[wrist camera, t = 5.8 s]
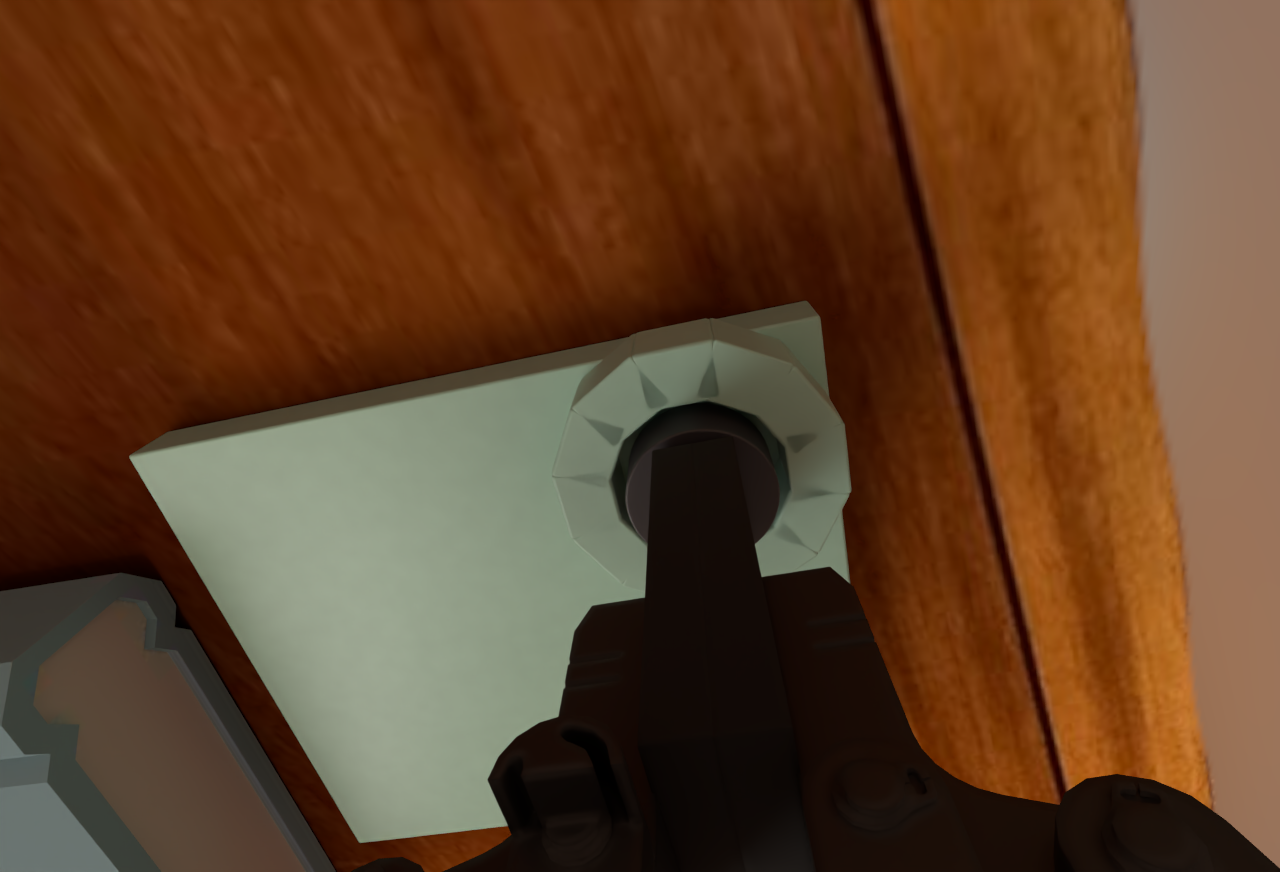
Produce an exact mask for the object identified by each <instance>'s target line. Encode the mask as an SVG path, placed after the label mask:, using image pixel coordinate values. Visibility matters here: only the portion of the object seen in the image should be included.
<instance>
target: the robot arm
mask: <svg viewBox="0 0 1280 872" xmlns="http://www.w3.org/2000/svg"><path fill="white" fill-rule="evenodd" d="M569 661H570V664H569V665H568V667H567V673H566V678H565V688H564V689H563V694H562V699H561V705H560V710H559V716H558V717H556V718H553V719H549V720H546V721H543V722H539V723H538V724H536V725H535V726H533V727H531V728H530V729H528V730H527V731H525V732H523V733H522V734H520V735H519V736H517V737H516V738H515V739H514V740H513V741H512V742H511V743H510V745H509V746H508V747H507V748H506V749H505V750H504V751H503V752H502V753H501V754H500V755H499V756H498V758H497V761H496V763H495V765H494V767H493V769H492V771H491V773H490V775H489V777H488V780H487V781H488V783H489V785H490V787H491V789H492V792H493V794H494V796H495V798H496V801H497V803H498V805H499V807H500V809H501V812H502V814H503V816H504V818H505V821H506V823H507V825H508V827H509V829H510V832H511V834H512V835H511V836H510V837H508V838H507V839H506V840H505V841H503V842H502V843H501V844H499V845H498V846H496V847H494V848H492V849H490V850H489V851H487V852H485V853H483V854H481V855H479V856H477V857H475V858H472V859H470V860H468V861H466V862H463V863H461V864H459V865H457V866H454V867H452V868H450V869H448V870H445V871H443V872H1280V868H1278V867H1277V866H1276V865H1275V864H1274V863H1273V862H1272V861H1270V859H1268V858H1267V857H1266V856H1265V855H1264V854H1263V853H1262V852H1261V851H1260V850H1258V849H1257V848H1256V847H1255V846H1254V845H1253V844H1252V843H1251V842H1249V841H1248V840H1247V839H1246V838H1245V837H1244V836H1243V835H1242V834H1241V833H1240V832H1238V831H1237V830H1236V829H1235V828H1234V827H1233V826H1232V825H1231V824H1229V823H1228V822H1227V821H1226V820H1224V819H1223V818H1222V817H1220V816H1219V815H1218V814H1216V813H1215V812H1213V811H1212V810H1211V809H1209V808H1208V807H1206V806H1205V805H1203V804H1202V803H1201V802H1199V801H1198V800H1196V799H1195V798H1194V797H1192V796H1190V795H1188V794H1186V793H1183V792H1181V791H1178V790H1176V789H1174V788H1171V787H1169V786H1166V785H1164V784H1162V783H1159V782H1157V781H1154V780H1151V779H1144V778H1138V777H1132V776H1125V775H1119V774H1115V775H1108V776H1101V777H1094V778H1087V779H1085V780H1084V781H1082V782H1081V783H1079V784H1078V785H1076V786H1075V787H1073V788H1072V789H1070V790H1069V791H1067V792H1065V794H1064V796H1063V799H1062V801H1061V803H1060V805H1056V804H1051V803H1045V802H1040V801H1034V800H1028V799H1023V798H1017V797H1011V796H1006V795H1001V794H997V793H993V792H990V791H986V790H982V789H979V788H976V787H974V786H972V785H970V784H967V783H965V782H963V781H961V780H959V779H957V778H955V777H953V776H952V775H951V774H949V773H948V772H946V771H945V770H944V769H942V768H941V767H939V766H938V765H937V764H935V763H934V762H933V760H932V759H931V758H930V757H929V756H928V755H927V754H926V753H925V752H924V751H923V750H922V749H921V747H920V745H919V743H918V742H917V740H916V738H915V736H914V735H913V733H912V730H911V728H910V726H909V723H908V721H907V718H906V716H905V713H904V711H903V708H902V706H901V703H900V701H899V698H898V696H897V693H896V691H895V688H894V686H893V683H892V681H891V678H890V676H889V673H888V671H887V668H886V666H885V663H884V661H883V658H882V656H881V653H880V651H879V648H878V646H877V644H876V642H875V641H874V636H873V634H872V631H871V629H870V626H869V624H868V621H867V619H866V618H865V614H864V611H863V609H862V606H861V604H860V601H859V599H858V596H857V594H856V591H855V589H854V587H853V586H852V585H851V584H850V583H849V582H847V581H846V580H845V579H844V578H843V577H842V576H840V575H839V574H838V573H837V572H836V571H835V570H833V569H832V568H831V567H823V568H817V569H811V570H804V571H798V572H791V573H785V574H778V575H772V576H765V577H761V572H760V567H759V562H758V557H757V553H756V548H755V543H754V538H753V533H752V528H751V524H750V519H749V514H748V509H747V504H746V499H745V495H744V490H743V485H742V480H741V475H740V470H739V465H738V461H737V456H736V451H735V446H734V441H733V436H730V437H724V438H719V439H713V440H708V441H702V442H697V443H691V444H686V445H680V446H675V447H669V448H664V449H658V450H653V451H652V467H651V487H650V506H649V526H648V546H647V566H646V585H645V598H638V599H632V600H625V601H619V602H612V603H606V604H599V605H593V606H591V608H590V609H589V611H588V612H587V614H586V615H585V617H584V618H583V619H582V621H581V622H580V624H579V625H578V627H577V628H576V630H575V631H574V635H573V641H572V646H571V651H570V657H569ZM351 872H424V871H423V869H422V867H421V866H420V865H418V864H416V863H414V862H412V861H410V860H408V859H405V858H403V857H397V858H383V859H377V860H375V861H373V862H371V863H368V864H366V865H364V866H361V867H359V868H357V869H354V870H353V871H351Z"/></svg>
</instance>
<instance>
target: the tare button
mask: <svg viewBox="0 0 1280 872" xmlns="http://www.w3.org/2000/svg"><path fill="white" fill-rule="evenodd" d="M730 436H733V441H734V446H735V451H736V456H737V461H738V465H739V470H740V475H741V480H742V485H743V490H744V495H745V499H746V504H747V509H748V514H749V519H750V524H751V528H752V533H753V538H754V543H755V544H756V543H757V542H758V541H759V540H760V539H761V538H762V537H763V536H764V535H765V533H766V532H767V531H768V529H769V528H770V526H771V525H772V523H773V521H774V519H775V516H776V514H777V511H778V506H779V500H780V488H779V482H778V478H777V474H776V471H775V468H774V465H773V462H772V458H771V455H770V452H769V449H768V446H767V444H766V441H765V439H764V437H763V436H762V434H761V432H760V431H759V430H758V429H757V427H756V426H755V425H754V424H753V423H752V422H751V421H750V420H749V419H747V418H746V417H744V416H743V415H742V414H740V413H738V412H736V411H734V410H732V409H729V408H727V407H724V406H720V405H716V404H708V403H693V404H686V405H682V406H678V407H675V408H672V409H670V410H667V411H665V412H664V413H662V414H660V415H658V416H657V417H656V418H654V419H653V420H651V421H650V422H649V423H648V424H647V425H646V426H645V427H644V428H643V430H642V431H641V432H640V433H639V435H638V437H637V438H636V440H635V442H634V444H633V447H632V449H631V453H630V457H629V465H628V474H627V483H626V492H625V502H626V508H627V513H628V516H629V518H630V521H631V523H632V525H633V527H634V528H635V530H636V531H637V533H638V534H639V535H640V536H641V537H642V538H643V540H644V541H645V542H646V543H648V526H649V506H650V487H651V467H652V451H653V450H658V449H664V448H669V447H675V446H680V445H686V444H691V443H697V442H702V441H708V440H713V439H719V438H724V437H730Z"/></svg>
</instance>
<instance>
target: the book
mask: <svg viewBox="0 0 1280 872" xmlns="http://www.w3.org/2000/svg"><path fill="white" fill-rule="evenodd" d="M175 617H176V604H175V603H174V601H173V599H172V598H171V596H170V594H169V593H168V591H167V589H166V588H165V586H164V584H163V583H162V581H158V580H154V579H149V578H144V577H139V576H134V575H130V574H125V573H116V574H109V575H103V576H96V577H90V578H83V579H77V580H70V581H64V582H57V583H51V584H44V585H38V586H32V587H25V588H19V589H12V590H6V591H0V872H336V871H335V869H334V867H333V866H332V864H331V862H330V861H329V859H328V857H327V856H326V854H325V852H324V851H323V849H322V847H321V846H320V844H319V842H318V841H317V839H316V837H315V836H314V834H313V832H312V831H311V829H310V827H309V826H308V824H307V822H306V821H305V819H304V817H303V816H302V814H301V812H300V811H299V809H298V807H297V806H296V804H295V802H294V801H293V799H292V797H291V796H290V794H289V792H288V791H287V789H286V788H285V786H284V784H283V783H282V781H281V779H280V778H279V776H278V774H277V773H276V771H275V769H274V768H273V766H272V764H271V763H270V761H269V759H268V758H267V756H266V754H265V753H264V751H263V749H262V748H261V746H260V744H259V743H258V741H257V739H256V738H255V736H254V734H253V733H252V731H251V729H250V728H249V726H248V724H247V723H246V721H245V719H244V718H243V716H242V714H241V713H240V711H239V709H238V708H237V706H236V704H235V703H234V701H233V699H232V698H231V696H230V694H229V693H228V691H227V689H226V688H225V686H224V684H223V683H222V681H221V679H220V678H219V676H218V674H217V673H216V671H215V669H214V668H213V666H212V664H211V663H210V661H209V659H208V658H207V656H206V654H205V653H204V651H203V649H202V648H201V646H200V644H199V643H198V641H197V639H196V638H195V636H194V634H193V633H192V631H191V630H188V629H182V628H176V627H175Z"/></svg>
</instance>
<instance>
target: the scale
mask: <svg viewBox="0 0 1280 872" xmlns="http://www.w3.org/2000/svg"><path fill="white" fill-rule="evenodd" d="M693 403H708V404H716V405H720V406H724V407H727V408H729V409H732V410H734V411H736V412H738V413H740V414H742V415H743V416H744V417H746V418H747V419H749V420H750V421H751V422H752V423H753V424H754V425H755V426H756V427H757V429H758V430H759V431H760V432H761V434H762V436H763V437H764V439H765V441H766V444H767V446H768V449H769V452H770V455H771V458H772V462H773V465H774V468H775V471H776V474H777V478H778V482H779V488H780V500H779V506H778V511H777V514H776V516H775V519H774V521H773V523H772V525H771V526H770V528H769V529H768V531H767V532H766V533H765V535H764V536H763V537H762V538H761V539H760V540H759V541H758V542H757V543H756V544H755V548H756V553H757V557H758V562H759V567H760V572H761V577H765V576H772V575H778V574H785V573H791V572H798V571H804V570H811V569H817V568H823V567H831V568H832V569H833V570H835V571H836V572H837V573H838V574H839V575H840V576H842V577H843V578H844V579H845V580H846V581H847V582H849V583H850V575H849V567H848V558H847V549H846V540H845V531H844V522H843V513H842V509H843V507H844V505H845V503H846V501H847V499H848V497H849V493H850V492H851V490H852V489H851V479H850V470H849V460H848V451H847V441H846V432H845V424H844V422H843V421H842V419H841V417H840V415H839V413H838V412H837V410H836V408H835V407H834V405H833V403H832V402H831V400H830V398H829V390H828V381H827V372H826V363H825V354H824V345H823V337H822V328H821V319H820V317H819V315H818V314H817V313H816V311H815V310H814V309H813V308H812V306H811V305H810V304H809V303H808V301H801V302H797V303H792V304H787V305H782V306H777V307H772V308H767V309H763V310H758V311H753V312H748V313H743V314H738V315H733V316H729V317H724V318H719V319H714V318H710V319H706V318H704V319H700V320H695V321H690V322H685V323H680V324H675V325H671V326H666V327H661V328H656V329H651V330H646V331H641V332H638V333H636V334H632V335H631V336H630V337H627V338H622V339H617V340H612V341H607V342H602V343H597V344H593V345H588V346H583V347H578V348H573V349H568V350H563V351H559V352H554V353H549V354H544V355H539V356H534V357H529V358H525V359H520V360H515V361H510V362H505V363H500V364H495V365H491V366H486V367H481V368H476V369H471V370H466V371H461V372H457V373H452V374H447V375H442V376H437V377H432V378H427V379H422V380H418V381H413V382H408V383H403V384H398V385H393V386H388V387H384V388H379V389H374V390H369V391H364V392H359V393H354V394H350V395H345V396H340V397H335V398H330V399H325V400H320V401H316V402H311V403H306V404H301V405H296V406H291V407H286V408H282V409H277V410H272V411H267V412H262V413H257V414H252V415H248V416H243V417H238V418H233V419H228V420H223V421H218V422H214V423H209V424H204V425H199V426H194V427H189V428H184V429H180V430H175V431H170V432H167V433H165V434H164V435H162V436H160V437H159V438H157V439H155V440H154V441H152V442H151V443H149V444H147V445H146V446H144V447H142V448H141V449H139V450H137V451H136V452H134V453H133V454H131V455H130V456H129V457H130V460H131V461H132V463H133V465H134V466H135V468H136V470H137V471H138V473H139V475H140V476H141V478H142V480H143V481H144V483H145V485H146V487H147V488H148V490H149V492H150V493H151V495H152V497H153V498H154V500H155V502H156V503H157V505H158V507H159V508H160V510H161V512H162V513H163V515H164V517H165V518H166V520H167V522H168V523H169V525H170V527H171V528H172V530H173V532H174V533H175V535H176V537H177V538H178V540H179V542H180V543H181V545H182V547H183V549H184V550H185V552H186V554H187V555H188V557H189V559H190V560H191V562H192V564H193V565H194V567H195V569H196V570H197V572H198V574H199V575H200V577H201V579H202V580H203V582H204V584H205V585H206V587H207V589H208V590H209V592H210V594H211V595H212V597H213V599H214V600H215V602H216V604H217V605H218V607H219V609H220V611H221V612H222V614H223V616H224V617H225V619H226V621H227V622H228V624H229V626H230V627H231V629H232V631H233V632H234V634H235V636H236V637H237V639H238V641H239V642H240V644H241V646H242V647H243V649H244V651H245V652H246V654H247V656H248V657H249V659H250V661H251V662H252V664H253V666H254V667H255V669H256V671H257V672H258V674H259V676H260V678H261V679H262V681H263V683H264V684H265V686H266V688H267V689H268V691H269V693H270V694H271V696H272V698H273V699H274V701H275V703H276V704H277V706H278V708H279V709H280V711H281V713H282V714H283V716H284V718H285V719H286V721H287V723H288V724H289V726H290V728H291V729H292V731H293V733H294V734H295V736H296V738H297V740H298V741H299V743H300V745H301V746H302V748H303V750H304V751H305V753H306V755H307V756H308V758H309V760H310V761H311V763H312V765H313V766H314V768H315V770H316V771H317V773H318V775H319V776H320V778H321V780H322V781H323V783H324V785H325V786H326V788H327V790H328V791H329V793H330V795H331V796H332V798H333V800H334V801H335V803H336V805H337V807H338V808H339V810H340V812H341V813H342V815H343V817H344V818H345V820H346V822H347V823H348V825H349V827H350V828H351V830H352V832H353V833H354V835H355V837H356V838H357V840H358V842H359V843H365V842H373V841H382V840H391V839H399V838H408V837H416V836H425V835H434V834H442V833H451V832H459V831H468V830H476V829H485V828H494V827H502V826H508V825H507V823H506V821H505V818H504V816H503V814H502V812H501V809H500V807H499V805H498V803H497V801H496V798H495V796H494V794H493V792H492V789H491V787H490V785H489V783H488V781H487V780H488V777H489V775H490V773H491V771H492V769H493V767H494V765H495V763H496V761H497V758H498V756H499V755H500V754H501V753H502V752H503V751H504V750H505V749H506V748H507V747H508V746H509V745H510V743H511V742H512V741H513V740H514V739H515V738H516V737H517V736H519V735H520V734H522V733H523V732H525V731H527V730H528V729H530V728H531V727H533V726H535V725H536V724H538V723H539V722H543V721H546V720H549V719H553V718H556V717H558V716H559V710H560V705H561V699H562V694H563V689H564V688H565V678H566V673H567V667H568V665H569V664H570V661H569V657H570V651H571V646H572V641H573V635H574V631H575V630H576V628H577V627H578V625H579V624H580V622H581V621H582V619H583V618H584V617H585V615H586V614H587V612H588V611H589V609H590V608H591V606H593V605H599V604H606V603H612V602H619V601H625V600H632V599H638V598H645V585H646V566H647V546H648V543H646V542H645V541H644V540H643V538H642V537H641V536H640V535H639V534H638V533H637V531H636V530H635V528H634V527H633V525H632V523H631V521H630V518H629V516H628V513H627V508H626V502H625V492H626V483H627V474H628V465H629V457H630V453H631V449H632V447H633V444H634V442H635V440H636V438H637V437H638V435H639V433H640V432H641V431H642V430H643V428H644V427H645V426H646V425H647V424H648V423H649V422H650V421H651V420H653V419H654V418H656V417H657V416H658V415H660V414H662V413H664V412H665V411H667V410H670V409H672V408H675V407H678V406H682V405H686V404H693Z"/></svg>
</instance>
